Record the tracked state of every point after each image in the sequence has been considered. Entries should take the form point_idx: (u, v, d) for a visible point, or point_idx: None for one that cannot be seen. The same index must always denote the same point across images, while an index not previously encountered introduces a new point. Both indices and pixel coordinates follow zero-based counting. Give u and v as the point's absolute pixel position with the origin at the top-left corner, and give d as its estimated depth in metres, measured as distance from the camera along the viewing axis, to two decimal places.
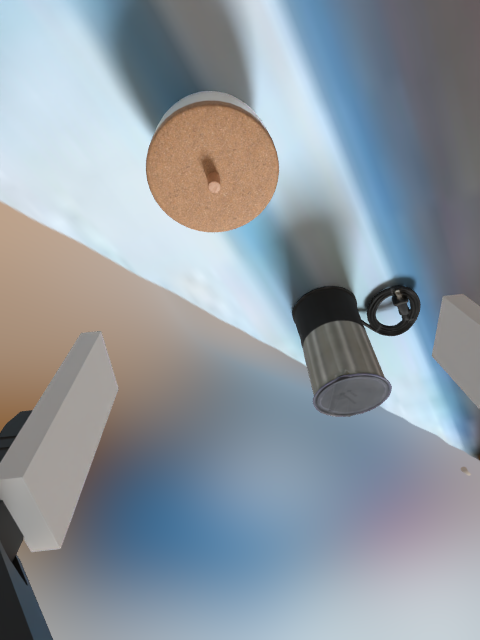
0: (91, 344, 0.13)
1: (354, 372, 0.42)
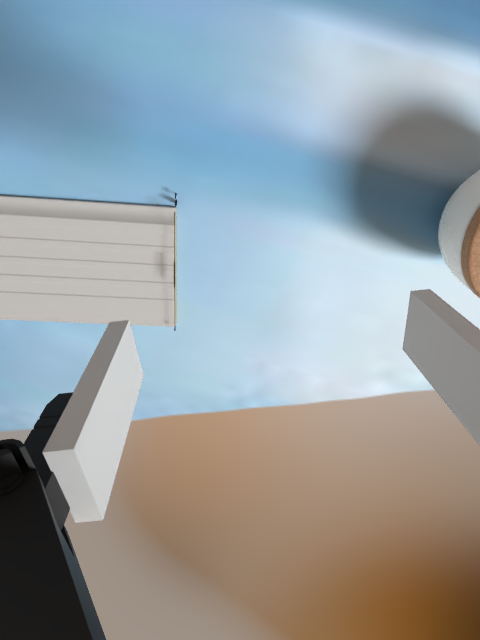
0: (121, 332, 0.14)
1: None
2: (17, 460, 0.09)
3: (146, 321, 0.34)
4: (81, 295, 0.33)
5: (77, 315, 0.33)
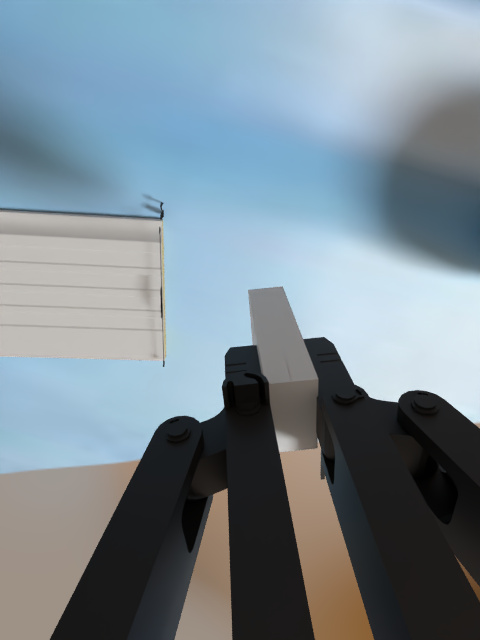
0: (265, 297, 0.15)
1: None
2: None
3: (129, 354, 0.28)
4: (49, 326, 0.27)
5: (45, 349, 0.28)
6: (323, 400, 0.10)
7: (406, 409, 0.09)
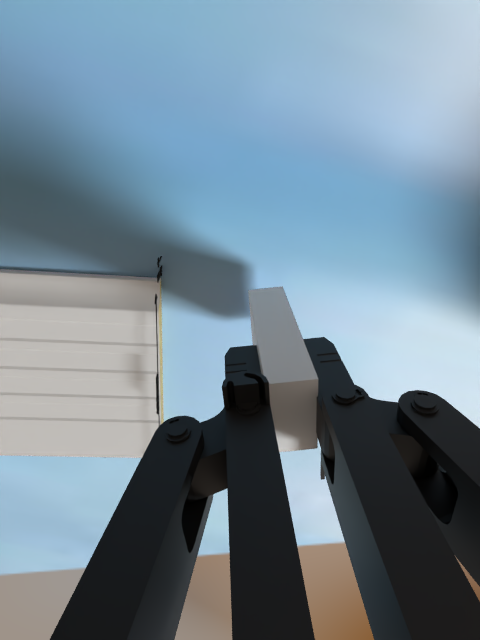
0: (265, 297, 0.15)
1: None
2: None
3: (114, 451, 0.21)
4: (2, 417, 0.19)
5: None
6: (323, 400, 0.10)
7: (406, 409, 0.09)
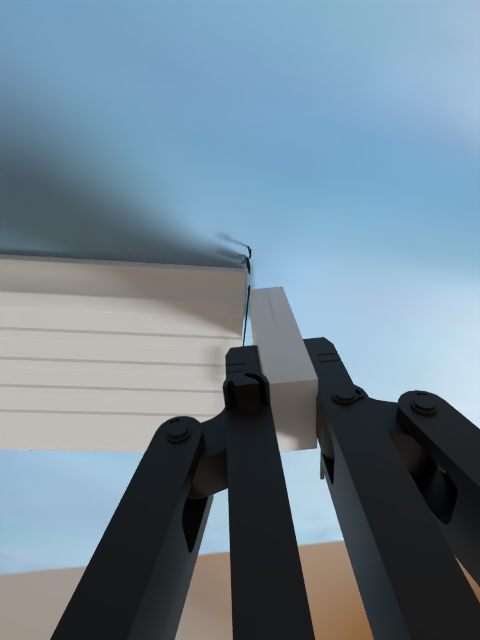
0: (266, 297, 0.15)
1: None
2: (258, 391, 0.10)
3: None
4: (76, 412, 0.19)
5: (69, 440, 0.20)
6: (323, 400, 0.10)
7: (405, 409, 0.09)
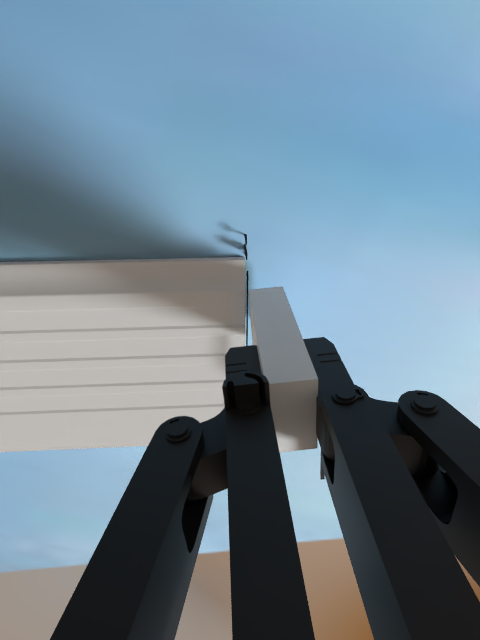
0: (265, 297, 0.15)
1: None
2: None
3: None
4: (90, 410, 0.20)
5: (86, 438, 0.20)
6: (323, 400, 0.10)
7: (406, 409, 0.09)
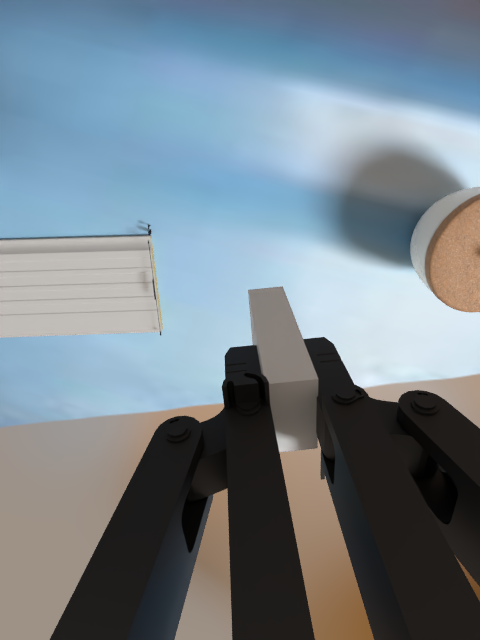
0: (265, 297, 0.15)
1: None
2: None
3: (137, 329, 0.41)
4: (83, 312, 0.40)
5: (81, 328, 0.41)
6: (323, 400, 0.10)
7: (406, 409, 0.09)
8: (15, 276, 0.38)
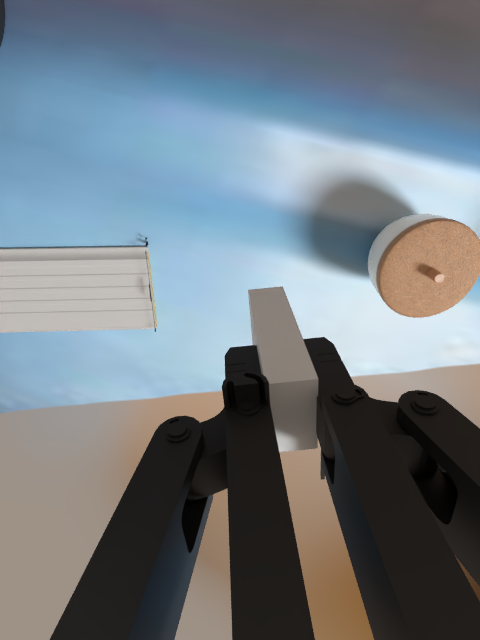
0: (265, 297, 0.15)
1: None
2: None
3: (135, 325, 0.48)
4: (88, 311, 0.47)
5: (86, 325, 0.47)
6: (323, 400, 0.10)
7: (406, 409, 0.09)
8: (30, 279, 0.44)
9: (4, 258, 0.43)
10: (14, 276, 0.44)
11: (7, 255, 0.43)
